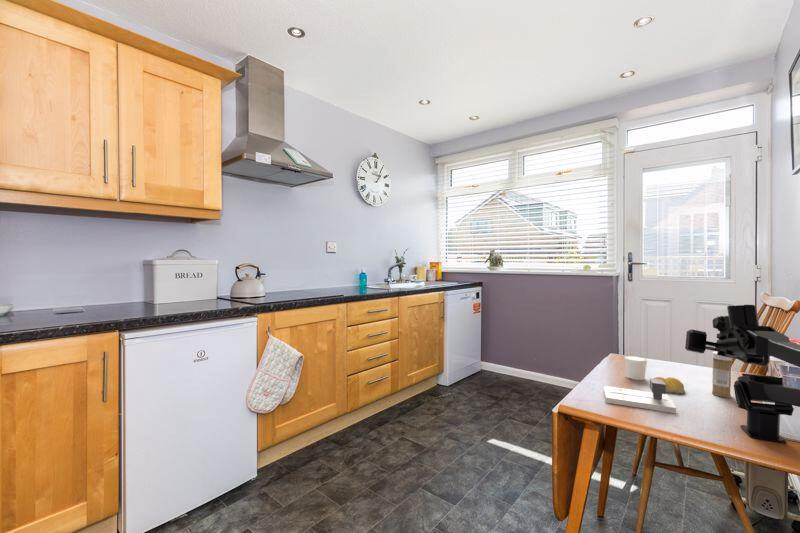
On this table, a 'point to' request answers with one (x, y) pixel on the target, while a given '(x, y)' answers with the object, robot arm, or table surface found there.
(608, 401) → the fader panel
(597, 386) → the table surface
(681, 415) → the table surface
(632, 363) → the white cup
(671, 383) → the bread roll
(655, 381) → the fader knob
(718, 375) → the sprinkles bottle
